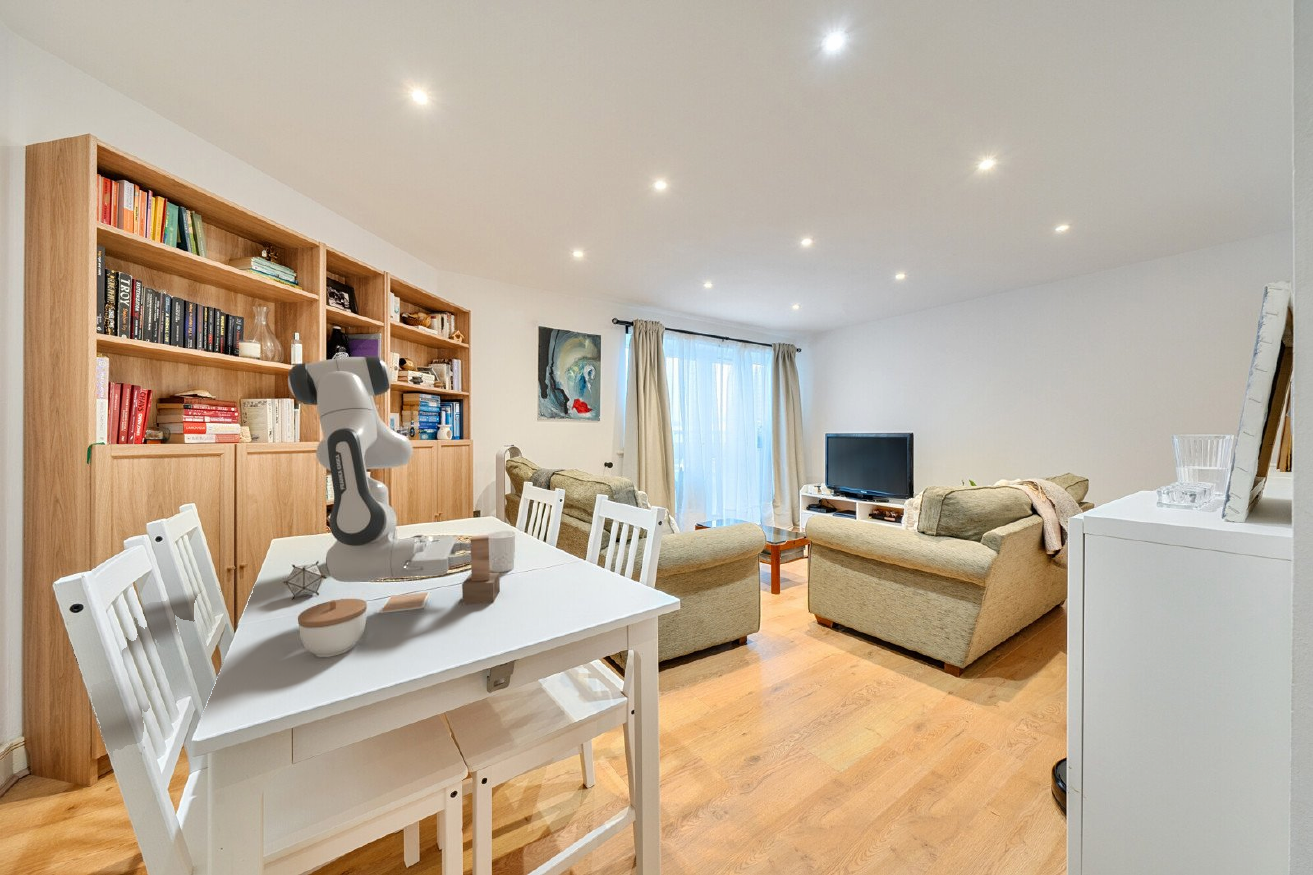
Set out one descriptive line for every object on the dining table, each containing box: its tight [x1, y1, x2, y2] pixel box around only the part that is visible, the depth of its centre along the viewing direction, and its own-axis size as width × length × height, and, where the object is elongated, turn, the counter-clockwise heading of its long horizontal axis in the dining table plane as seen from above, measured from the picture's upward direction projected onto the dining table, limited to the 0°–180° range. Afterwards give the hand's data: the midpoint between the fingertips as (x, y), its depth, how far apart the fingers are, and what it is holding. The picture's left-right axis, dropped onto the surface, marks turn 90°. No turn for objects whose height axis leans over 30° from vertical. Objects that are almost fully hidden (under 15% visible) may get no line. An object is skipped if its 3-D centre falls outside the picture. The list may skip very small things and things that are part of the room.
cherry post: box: [470, 534, 491, 582], centre depth 112 cm, size 4×4×10 cm
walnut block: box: [461, 572, 501, 605], centre depth 112 cm, size 7×7×5 cm
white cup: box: [487, 530, 516, 573], centre depth 133 cm, size 8×8×10 cm
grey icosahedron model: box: [281, 560, 328, 601], centre depth 115 cm, size 9×8×10 cm
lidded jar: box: [297, 598, 368, 658], centre depth 88 cm, size 11×11×9 cm
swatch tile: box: [378, 592, 432, 614], centre depth 109 cm, size 9×9×1 cm
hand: (473, 551), depth 112 cm, fingers open, 8 cm apart
